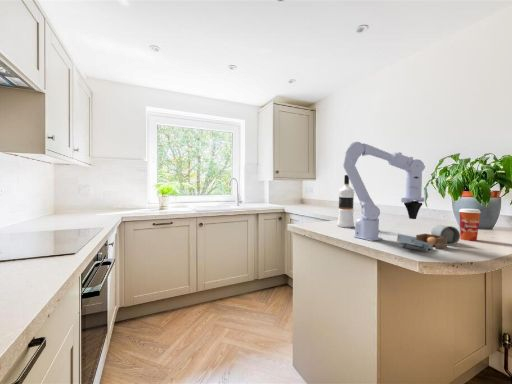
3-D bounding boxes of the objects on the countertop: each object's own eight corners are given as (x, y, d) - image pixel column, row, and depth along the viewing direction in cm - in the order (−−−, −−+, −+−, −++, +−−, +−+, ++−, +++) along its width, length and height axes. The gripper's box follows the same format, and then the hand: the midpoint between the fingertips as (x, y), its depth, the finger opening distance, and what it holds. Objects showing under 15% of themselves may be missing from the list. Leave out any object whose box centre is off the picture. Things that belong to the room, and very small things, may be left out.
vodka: (351, 228, 136) (353, 174, 135) (335, 226, 141) (336, 174, 140) (355, 226, 143) (357, 175, 142) (339, 224, 149) (340, 175, 148)
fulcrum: (402, 247, 96) (402, 240, 96) (404, 246, 97) (405, 240, 97) (425, 252, 89) (426, 245, 89) (428, 251, 90) (428, 244, 90)
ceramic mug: (447, 240, 109) (447, 223, 109) (460, 245, 101) (460, 226, 101) (421, 240, 110) (422, 223, 110) (432, 244, 102) (433, 226, 102)
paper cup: (460, 240, 110) (461, 209, 110) (455, 237, 117) (456, 207, 116) (482, 242, 106) (484, 210, 106) (477, 238, 113) (478, 208, 113)
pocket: (415, 244, 101) (416, 235, 101) (424, 242, 104) (425, 233, 104) (438, 249, 94) (438, 238, 94) (446, 247, 97) (447, 237, 97)
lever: (382, 238, 97) (384, 231, 97) (402, 243, 104) (403, 236, 104) (414, 245, 87) (415, 237, 87) (433, 249, 94) (434, 242, 94)
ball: (430, 239, 102) (426, 246, 101) (427, 234, 101) (423, 240, 100) (440, 241, 99) (436, 248, 98) (437, 235, 98) (433, 242, 96)
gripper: (414, 187, 99) (413, 221, 99) (432, 187, 106) (431, 219, 106) (396, 187, 105) (395, 218, 105) (415, 187, 112) (414, 216, 112)
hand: (412, 218), depth 106 cm, fingers closed
